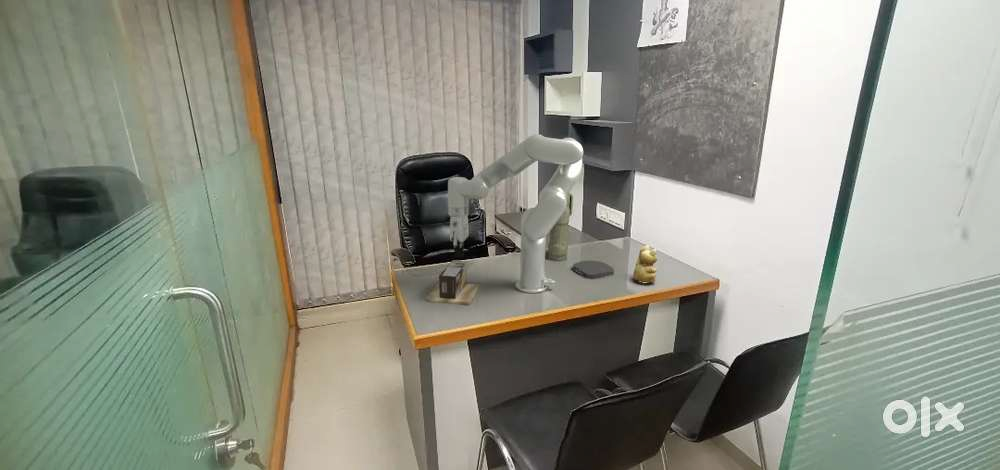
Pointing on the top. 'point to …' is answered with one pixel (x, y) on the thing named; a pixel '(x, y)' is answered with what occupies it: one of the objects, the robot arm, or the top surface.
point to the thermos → (560, 234)
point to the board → (462, 298)
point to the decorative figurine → (646, 265)
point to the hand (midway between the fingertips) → (459, 256)
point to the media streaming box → (593, 269)
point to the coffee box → (453, 279)
